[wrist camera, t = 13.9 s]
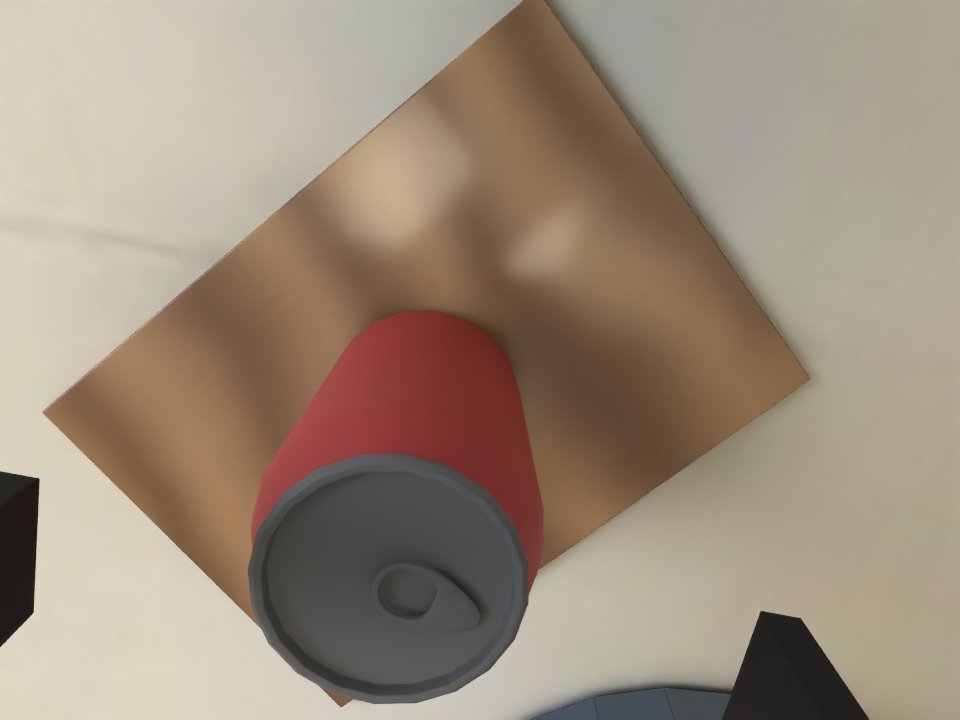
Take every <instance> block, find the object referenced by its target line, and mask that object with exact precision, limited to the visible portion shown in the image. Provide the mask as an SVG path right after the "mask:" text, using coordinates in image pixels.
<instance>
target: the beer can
mask: <svg viewBox="0 0 960 720" xmlns="http://www.w3.org/2000/svg"><path fill="white" fill-rule="evenodd" d="M543 517H544V509H543V504H542V499H541V494H540V490H539V485H538V480H537V475H536V470H535V465H534V460H533V456H532V451H531V446H530V441H529V436H528V431H527V426H526V422H525V417H524V412H523V407H522V402H521V397H520V392H519V388H518V385H517V382H516V379H515V376H514V373H513V370H512V367H511V364H510V361H509V359H508V358H507V357H506V356H505V354H504V353H503V352H502V350H501V349H500V348H499V346H498V345H497V344H496V342H495V341H494V340H493V339H492V337H491V336H489V335H488V334H486V333H485V332H484V331H482V330H481V329H479V328H478V327H476V326H475V325H473V324H472V323H470V322H469V321H468V320H466V319H463V318H460V317H456V316H453V315H450V314H446V313H443V312H440V311H436V310H435V311H404V312H401V313H398V314H395V315H392V316H389V317H386V318H383V319H380V320H377V321H375V322H374V323H373V324H371V325H370V326H369V327H367V328H366V329H365V330H363V331H362V332H361V333H359V334H358V335H357V336H355V337H354V338H353V339H352V340H351V341H350V343H349V344H348V346H347V347H346V349H345V350H344V352H343V353H342V355H341V356H340V358H339V359H338V361H337V362H336V363H335V365H334V367H333V368H332V370H331V371H330V373H329V374H328V376H327V377H326V379H325V380H324V382H323V383H322V385H321V386H320V388H319V389H318V391H317V392H316V394H315V395H314V397H313V399H312V400H311V402H310V403H309V405H308V406H307V408H306V409H305V411H304V412H303V414H302V415H301V417H300V418H299V420H298V421H297V423H296V424H295V426H294V427H293V429H292V431H291V432H290V434H289V435H288V437H287V438H286V440H285V441H284V443H283V444H282V446H281V447H280V449H279V450H278V452H277V453H276V455H275V456H274V458H273V460H272V461H271V463H270V464H269V466H268V467H267V469H266V470H265V472H264V473H263V476H262V480H261V484H260V488H259V492H258V496H257V500H256V504H255V508H254V512H253V517H252V524H251V539H252V549H253V550H252V554H251V558H250V561H249V565H248V578H249V588H250V597H251V606H252V610H253V612H254V614H255V616H256V618H257V620H258V622H259V624H260V626H261V628H262V630H263V633H264V635H265V637H266V639H267V641H268V643H269V644H270V645H271V646H272V648H273V649H274V650H275V651H276V652H277V653H278V654H279V655H280V656H281V657H282V658H283V659H284V660H285V661H286V662H287V663H288V664H289V665H290V666H291V667H292V668H293V669H294V670H295V671H296V672H297V673H298V674H300V675H301V676H303V677H305V678H307V679H308V680H310V681H312V682H314V683H315V684H317V685H319V686H321V687H322V688H324V689H326V690H328V691H330V692H331V693H333V694H337V695H341V696H345V697H349V698H353V699H357V700H361V701H365V702H369V703H373V704H393V703H418V702H421V701H425V700H428V699H432V698H435V697H438V696H442V695H445V694H449V693H452V692H455V691H457V690H459V689H460V688H462V687H463V686H465V685H467V684H468V683H470V682H471V681H473V680H474V679H476V678H477V677H479V676H481V675H482V674H484V673H485V672H487V671H488V670H490V669H491V667H492V666H493V665H494V664H495V663H496V661H497V660H498V659H499V658H500V657H501V655H502V654H503V653H504V652H505V651H506V649H507V648H508V647H509V646H510V644H511V643H512V642H513V641H514V640H515V637H516V635H517V632H518V629H519V627H520V624H521V621H522V619H523V616H524V613H525V611H526V608H527V605H528V596H529V593H530V590H531V587H532V585H533V582H534V579H535V577H536V574H537V571H538V569H539V566H540V562H541V557H542V553H543Z"/></svg>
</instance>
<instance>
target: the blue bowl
mask: <svg viewBox="0 0 960 720" xmlns="http://www.w3.org/2000/svg"><path fill="white" fill-rule="evenodd" d="M730 696H731V694H726V693H715V692H704V691H693V690H683V689H672V688H664V689H663V688H658V689H651V690H643V691H635V692H628V693H620V694H613V695H605V696H597V697H594V698H593V697H592V698H589V699H587V700H584V701H581V702H579V703H576V704H573V705H570V706H568V707H565V708H562V709H559V710H557V711H554V712H551V713H549V714H546V715H543V716H540V717H538V718H535V719H532V720H722V718H723V716H724V713H725V710H726V707H727V704H728V702H729V699H730Z"/></svg>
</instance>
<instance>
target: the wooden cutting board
mask: <svg viewBox="0 0 960 720" xmlns="http://www.w3.org/2000/svg"><path fill="white" fill-rule="evenodd" d="M435 310H436V311H440V312H443V313H446V314H450V315H453V316H456V317H460V318H463V319H466V320H468V321H469V322H470V323H472V324H473V325H475V326H476V327H478V328H479V329H481V330H482V331H484V332H485V333H486V334H488V335H489V336H491V337H492V339H493V340H494V341H495V342H496V344H497V345H498V346H499V348H500V349H501V350H502V352H503V353H504V354H505V356H506V357H507V358H508V359H509V361H510V364H511V367H512V370H513V373H514V376H515V379H516V382H517V385H518V388H519V392H520V397H521V402H522V407H523V412H524V417H525V422H526V426H527V431H528V436H529V441H530V446H531V451H532V456H533V460H534V465H535V470H536V475H537V480H538V485H539V490H540V494H541V499H542V504H543V509H544V517H543V553H542V557H541V562H540V566H539V569H540V568H541V567H543V566H544V565H546V564H547V563H549V562H550V561H551V560H553V559H554V558H556V557H557V556H559V555H560V554H561V553H563V552H564V551H566V550H567V549H569V548H570V547H572V546H573V545H574V544H576V543H577V542H579V541H580V540H582V539H583V538H584V537H586V536H587V535H589V534H590V533H592V532H593V531H594V530H596V529H597V528H599V527H600V526H602V525H603V524H604V523H606V522H607V521H609V520H610V519H612V518H613V517H614V516H616V515H617V514H619V513H620V512H622V511H623V510H624V509H626V508H627V507H629V506H630V505H632V504H633V503H634V502H636V501H637V500H639V499H640V498H642V497H643V496H644V495H646V494H647V493H649V492H650V491H652V490H653V489H654V488H656V487H657V486H659V485H660V484H662V483H663V482H664V481H666V480H667V479H669V478H670V477H672V476H673V475H674V474H676V473H677V472H679V471H680V470H682V469H683V468H684V467H686V466H687V465H689V464H690V463H692V462H693V461H694V460H696V459H697V458H699V457H700V456H702V455H703V454H704V453H706V452H707V451H709V450H710V449H712V448H713V447H714V446H716V445H717V444H719V443H720V442H722V441H723V440H725V439H726V438H727V437H729V436H730V435H732V434H733V433H735V432H736V431H737V430H739V429H740V428H742V427H743V426H745V425H746V424H747V423H749V422H750V421H752V420H753V419H755V418H756V417H757V416H759V415H760V414H762V413H763V412H765V411H766V410H767V409H769V408H770V407H772V406H773V405H775V404H776V403H777V402H779V401H780V400H782V399H783V398H785V397H786V396H787V395H789V394H790V393H792V392H793V391H795V390H796V389H797V388H799V387H800V386H802V385H803V384H805V383H806V382H807V381H809V380H810V377H809V375H808V374H807V373H806V371H805V370H804V368H803V367H802V366H801V364H800V363H799V361H798V360H797V358H796V357H795V356H794V354H793V353H792V351H791V350H790V348H789V347H788V346H787V344H786V343H785V341H784V340H783V338H782V337H781V336H780V334H779V333H778V331H777V330H776V328H775V327H774V326H773V324H772V323H771V321H770V320H769V319H768V317H767V316H766V314H765V313H764V311H763V310H762V309H761V307H760V306H759V304H758V303H757V301H756V300H755V299H754V297H753V296H752V294H751V293H750V291H749V290H748V289H747V287H746V286H745V284H744V283H743V281H742V280H741V279H740V277H739V276H738V274H737V273H736V272H735V270H734V269H733V267H732V266H731V264H730V263H729V262H728V260H727V259H726V257H725V256H724V254H723V253H722V252H721V250H720V249H719V247H718V246H717V244H716V243H715V242H714V240H713V239H712V237H711V236H710V234H709V233H708V232H707V230H706V229H705V227H704V226H703V225H702V223H701V222H700V220H699V219H698V217H697V216H696V215H695V213H694V212H693V210H692V209H691V207H690V206H689V205H688V203H687V202H686V200H685V199H684V197H683V196H682V195H681V193H680V192H679V190H678V189H677V188H676V186H675V185H674V183H673V182H672V180H671V179H670V178H669V176H668V175H667V173H666V172H665V170H664V169H663V168H662V166H661V165H660V163H659V162H658V160H657V159H656V158H655V156H654V155H653V153H652V152H651V150H650V149H649V148H648V146H647V145H646V143H645V142H644V141H643V139H642V138H641V136H640V135H639V133H638V132H637V131H636V129H635V128H634V126H633V125H632V123H631V122H630V121H629V119H628V118H627V116H626V115H625V113H624V112H623V111H622V109H621V108H620V106H619V105H618V103H617V102H616V101H615V99H614V98H613V96H612V95H611V94H610V92H609V91H608V89H607V88H606V86H605V85H604V84H603V82H602V81H601V79H600V78H599V76H598V75H597V74H596V72H595V71H594V69H593V68H592V66H591V65H590V64H589V62H588V61H587V59H586V58H585V56H584V55H583V54H582V52H581V51H580V49H579V48H578V47H577V45H576V44H575V42H574V41H573V39H572V38H571V37H570V35H569V34H568V32H567V31H566V29H565V28H564V27H563V25H562V24H561V22H560V21H559V19H558V18H557V17H556V15H555V14H554V12H553V11H552V9H551V8H550V7H549V5H548V4H547V2H546V1H545V0H523V1H522V2H521V3H520V4H519V5H517V6H516V7H515V8H514V9H513V10H512V11H510V12H509V13H508V14H507V15H506V16H505V17H503V18H502V19H501V20H500V21H499V22H498V23H496V24H495V25H494V26H493V27H492V28H491V29H489V30H488V31H487V32H486V33H485V34H484V35H482V36H481V37H480V38H479V39H478V40H477V41H475V42H474V43H473V44H472V45H471V46H470V47H468V48H467V49H466V50H465V51H464V52H462V53H461V54H460V55H459V56H458V57H457V58H455V59H454V60H453V61H452V62H451V63H450V64H448V65H447V66H446V67H445V68H444V69H443V70H441V71H440V72H439V73H438V74H437V75H436V76H434V77H433V78H432V79H431V80H430V81H429V82H427V83H426V84H425V85H424V86H423V87H422V88H420V89H419V90H418V91H417V92H416V93H414V94H413V95H412V96H411V97H410V98H409V99H407V100H406V101H405V102H404V103H403V104H402V105H400V106H399V107H398V108H397V109H396V110H395V111H393V112H392V113H391V114H390V115H389V116H388V117H386V118H385V119H384V120H383V121H382V122H381V123H379V124H378V125H377V126H376V127H375V128H374V129H372V130H371V131H370V132H369V133H368V134H367V135H365V136H364V137H363V138H362V139H361V140H359V141H358V142H357V143H356V144H355V145H354V146H352V147H351V148H350V149H349V150H348V151H347V152H345V153H344V154H343V155H342V156H341V157H340V158H338V159H337V160H336V161H335V162H334V163H333V164H331V165H330V166H329V167H328V168H327V169H326V170H324V171H323V172H322V173H321V174H320V175H319V176H317V177H316V178H315V179H314V180H313V181H312V182H310V183H309V184H308V185H307V186H306V187H304V188H303V189H302V190H301V191H300V192H299V193H297V194H296V195H295V196H294V197H293V198H292V199H290V200H289V201H288V202H287V203H286V204H285V205H283V206H282V207H281V208H280V209H279V210H278V211H276V212H275V213H274V214H273V215H272V216H271V217H269V218H268V219H267V220H266V221H265V222H264V223H262V224H261V225H260V226H259V227H258V228H257V229H255V230H254V231H253V232H252V233H251V234H249V235H248V236H247V237H246V238H245V239H244V240H242V241H241V242H240V243H239V244H238V245H237V246H235V247H234V248H233V249H232V250H231V251H230V252H228V253H227V254H226V255H225V256H224V257H223V258H221V259H220V260H219V261H218V262H217V263H216V264H214V265H213V266H212V267H211V268H210V269H209V270H207V271H206V272H205V273H204V274H203V275H201V276H200V277H199V278H198V279H197V280H196V281H194V282H193V283H192V284H191V285H190V286H189V287H187V288H186V289H185V290H184V291H183V292H182V293H180V294H179V295H178V296H177V297H176V298H175V299H173V300H172V301H171V302H170V303H169V304H168V305H166V306H165V307H164V308H163V309H162V310H161V311H159V312H158V313H157V314H156V315H155V316H154V317H152V318H151V319H150V320H149V321H148V322H146V323H145V324H144V325H143V326H142V327H141V328H139V329H138V330H137V331H136V332H135V333H134V334H132V335H131V336H130V337H129V338H128V339H127V340H125V341H124V342H123V343H122V344H121V345H120V346H118V347H117V348H116V349H115V350H114V351H113V352H111V353H110V354H109V355H108V356H107V357H106V358H104V359H103V360H102V361H101V362H100V363H99V364H97V365H96V366H95V367H94V368H93V369H91V370H90V371H89V372H88V373H87V374H86V375H84V376H83V377H82V378H81V379H80V380H79V381H77V382H76V383H75V384H74V385H73V386H72V387H70V388H69V389H68V390H67V391H66V392H65V393H63V394H62V395H61V396H60V397H59V398H58V399H56V400H55V401H54V402H53V403H52V404H51V405H49V406H48V407H47V408H46V409H45V410H44V411H43V414H44V415H45V416H46V417H47V418H48V419H49V420H50V421H51V422H52V423H53V424H54V425H56V426H57V427H58V428H59V429H60V430H61V431H62V432H63V433H64V434H65V435H66V436H67V437H68V438H69V439H70V440H71V441H72V442H73V443H74V444H75V445H76V446H77V447H78V448H79V449H80V450H81V451H82V452H83V453H84V454H85V455H86V456H87V457H88V458H89V459H90V460H91V461H92V462H93V463H94V464H95V465H96V466H97V467H98V468H99V469H100V470H101V471H102V472H103V473H104V474H105V475H106V476H107V477H108V478H109V479H110V480H111V481H112V482H113V483H114V484H115V485H116V486H117V487H118V488H119V489H120V490H121V491H122V492H123V493H124V494H125V495H126V496H127V497H128V498H129V499H130V500H131V501H132V502H133V503H134V504H135V505H136V506H137V507H138V508H140V509H141V510H142V511H143V512H144V513H145V514H146V515H147V516H148V517H149V518H150V519H151V520H152V521H153V522H154V523H155V524H156V525H157V526H158V527H159V528H160V529H161V530H162V531H163V532H164V533H165V534H166V535H167V536H168V537H169V538H170V539H171V540H172V541H173V542H174V543H175V544H176V545H177V546H178V547H179V548H180V549H181V550H182V551H183V552H184V553H185V554H186V555H187V556H188V557H189V558H190V559H191V560H192V561H193V562H194V563H195V564H196V565H197V566H198V567H199V568H200V569H201V570H202V571H203V572H204V573H205V574H206V575H207V576H208V577H209V578H210V579H211V580H212V581H213V582H214V583H215V584H216V585H217V586H218V587H219V588H220V589H221V590H223V591H224V592H225V593H226V594H227V595H228V596H229V597H230V598H231V599H232V600H233V601H234V602H235V603H236V604H237V605H238V606H239V607H240V608H241V609H242V610H243V611H244V612H245V613H246V614H247V615H248V616H249V617H250V618H251V619H252V620H253V621H254V622H255V623H256V624H257V625H258V626H259V627H260V628H261V626H260V624H259V622H258V620H257V618H256V616H255V614H254V612H253V610H252V606H251V597H250V588H249V578H248V565H249V561H250V558H251V554H252V550H253V549H252V539H251V524H252V517H253V512H254V508H255V504H256V500H257V496H258V492H259V488H260V484H261V480H262V476H263V473H264V472H265V470H266V469H267V467H268V466H269V464H270V463H271V461H272V460H273V458H274V456H275V455H276V453H277V452H278V450H279V449H280V447H281V446H282V444H283V443H284V441H285V440H286V438H287V437H288V435H289V434H290V432H291V431H292V429H293V427H294V426H295V424H296V423H297V421H298V420H299V418H300V417H301V415H302V414H303V412H304V411H305V409H306V408H307V406H308V405H309V403H310V402H311V400H312V399H313V397H314V395H315V394H316V392H317V391H318V389H319V388H320V386H321V385H322V383H323V382H324V380H325V379H326V377H327V376H328V374H329V373H330V371H331V370H332V368H333V367H334V365H335V363H336V362H337V361H338V359H339V358H340V356H341V355H342V353H343V352H344V350H345V349H346V347H347V346H348V344H349V343H350V341H351V340H352V339H353V338H354V337H355V336H357V335H358V334H359V333H361V332H362V331H363V330H365V329H366V328H367V327H369V326H370V325H371V324H373V323H374V322H375V321H377V320H380V319H383V318H386V317H389V316H392V315H395V314H398V313H401V312H404V311H435ZM539 569H538V570H539ZM261 629H262V628H261ZM320 687H321V686H320ZM321 688H322V687H321ZM322 689H323V690H324V691H325V692H326V693H327V694H328V695H329V696H330V697H331V698H332V699H333V700H334V701H335V702H336V703H337V704H338V705H339V706H340V707H343V706H344V705H346V704H347V703H348V702H350V701H351V700H353V698H349V697H345V696H341V695H337V694H333V693H331V692H330V691H328V690H326V689H324V688H322Z"/></svg>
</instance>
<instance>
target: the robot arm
mask: <svg viewBox="0 0 960 720" xmlns="http://www.w3.org/2000/svg"><path fill="white" fill-rule="evenodd" d="M38 501H39V478H33V477H28V476H22V475H17V474H11V473H6V472H1V471H0V647H1V646H2V645H3V644H4V643H5V642H6V641H7V640H8V639H9V638H10V637H11V636H12V635H13V633H14V632H15V631H16V630H17V629H18V628H19V627H20V626H21V625H22V624H23V623H24V622H25V621H26V620H27V619H28V618H29V617H30V616H31V615H32V614H33V613H34V590H35V568H36V545H37V523H38ZM722 720H869V718H868V717H867V715H866V714H865V712H864V711H863V709H862V708H861V707H860V705H859V704H858V702H857V701H856V699H855V698H854V696H853V695H852V693H851V692H850V690H849V689H848V687H847V686H846V684H845V683H844V681H843V680H842V678H841V677H840V676H839V674H838V673H837V671H836V670H835V668H834V667H833V665H832V664H831V662H830V661H829V659H828V658H827V656H826V655H825V653H824V652H823V650H822V649H821V647H820V646H819V645H818V643H817V642H816V640H815V639H814V637H813V636H812V634H811V633H810V631H809V630H808V628H807V627H806V625H805V624H804V622H803V621H802V619H801V618H796V617H791V616H785V615H780V614H774V613H769V612H764V611H761V612H760V615H759V618H758V620H757V623H756V626H755V629H754V632H753V634H752V637H751V640H750V643H749V646H748V648H747V651H746V654H745V657H744V660H743V662H742V665H741V668H740V671H739V674H738V676H737V679H736V682H735V685H734V688H733V690H732V693H731V696H730V699H729V702H728V704H727V707H726V710H725V713H724V716H723V718H722Z"/></svg>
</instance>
